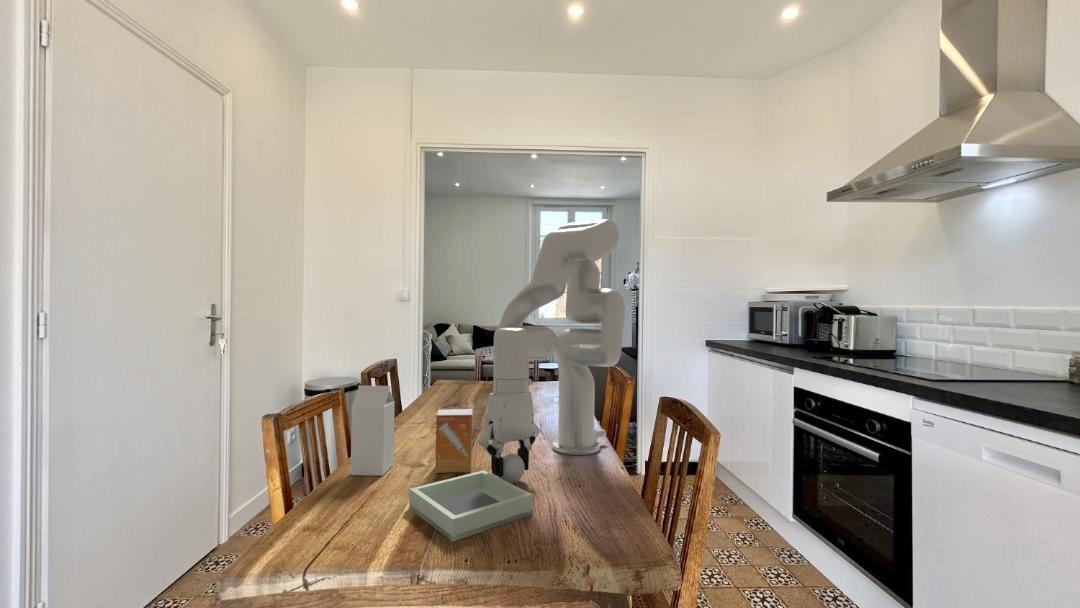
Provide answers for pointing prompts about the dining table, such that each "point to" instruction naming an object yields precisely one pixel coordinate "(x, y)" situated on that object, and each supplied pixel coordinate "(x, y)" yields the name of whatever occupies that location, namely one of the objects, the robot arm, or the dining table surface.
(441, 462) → the small box
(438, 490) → the tray
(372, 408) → the milk carton
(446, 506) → the felt pad
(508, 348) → the robot arm
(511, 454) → the ball
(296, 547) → the dining table surface
